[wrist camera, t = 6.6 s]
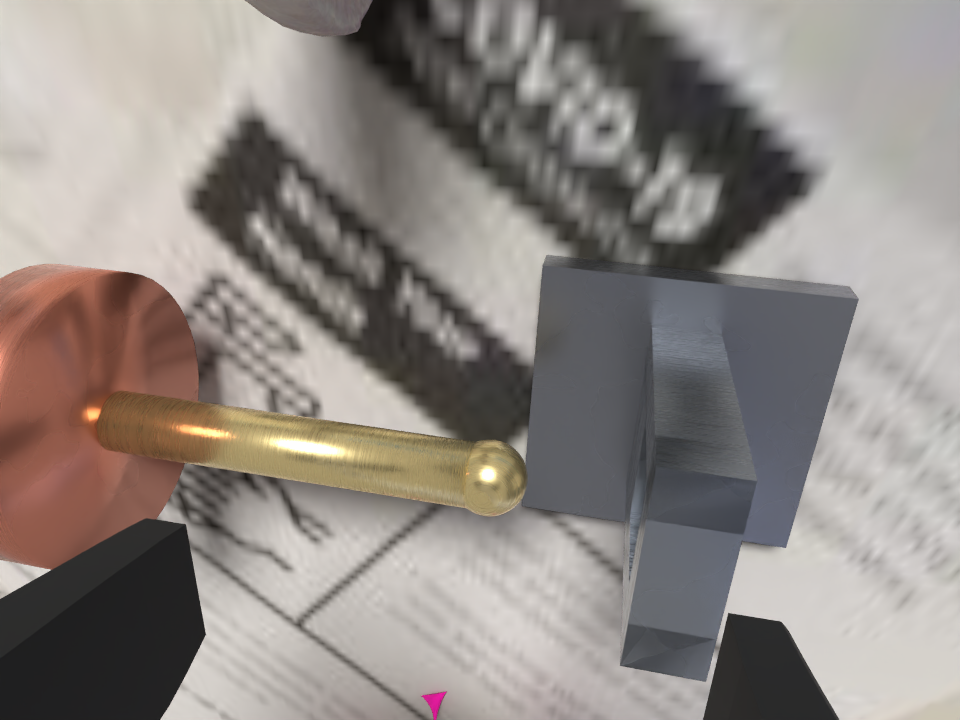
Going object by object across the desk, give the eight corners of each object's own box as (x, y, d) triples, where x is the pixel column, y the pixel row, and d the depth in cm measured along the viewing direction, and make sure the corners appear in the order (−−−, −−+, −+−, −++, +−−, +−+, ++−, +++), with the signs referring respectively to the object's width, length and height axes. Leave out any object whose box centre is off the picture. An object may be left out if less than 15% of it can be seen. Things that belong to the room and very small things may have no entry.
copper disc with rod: (558, 276, 17) (512, 426, 11) (535, 514, 20) (489, 734, 14) (115, 228, 19) (-136, 335, 13) (155, 453, 22) (-32, 626, 16)
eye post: (849, 286, 17) (963, 441, 11) (780, 528, 20) (840, 753, 14) (546, 254, 18) (498, 380, 12) (526, 489, 21) (480, 682, 15)
